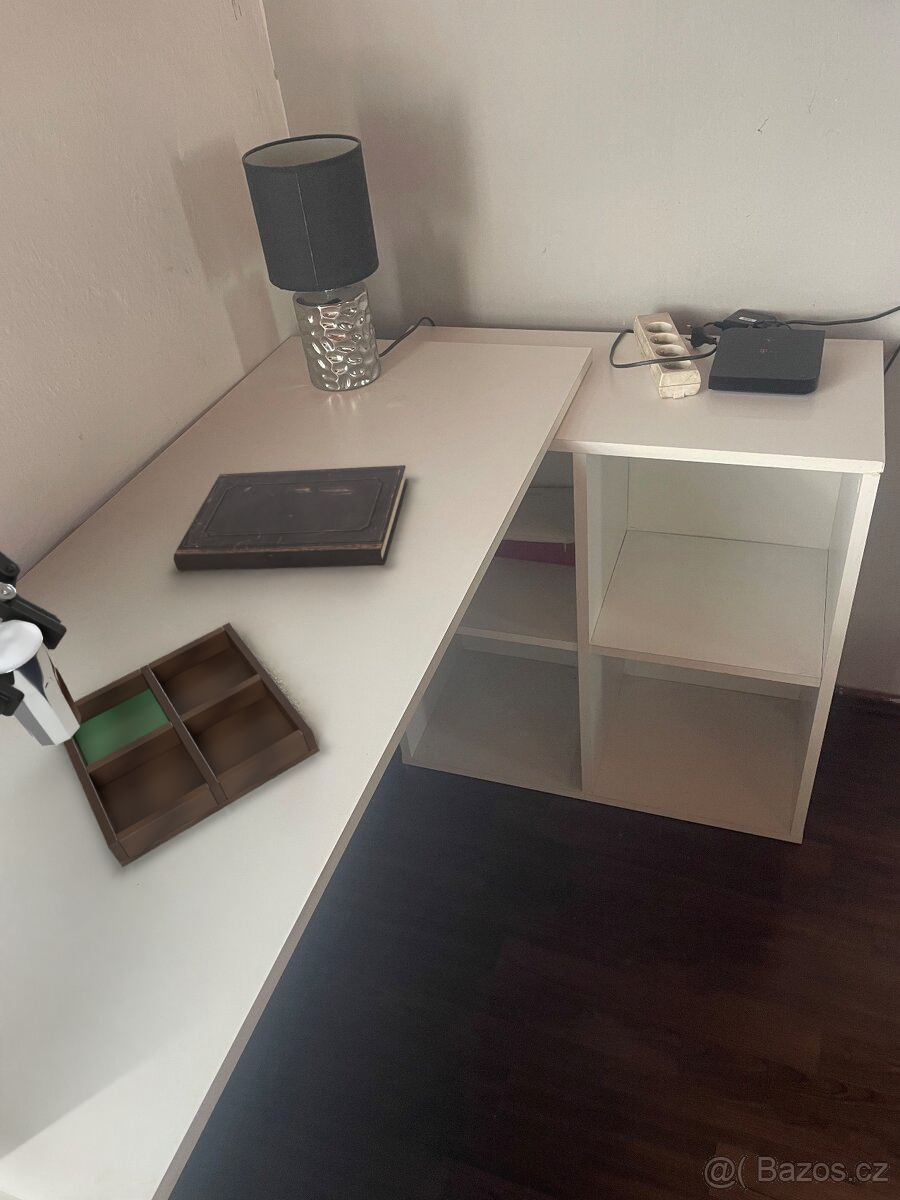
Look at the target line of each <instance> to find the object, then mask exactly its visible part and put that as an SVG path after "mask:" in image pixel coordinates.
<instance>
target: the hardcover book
mask: <svg viewBox="0 0 900 1200" xmlns="http://www.w3.org/2000/svg"><path fill="white" fill-rule="evenodd" d="M406 468H407V467H406V465H404V464H403V465H381V466H380V465H379V466H363V467H362V466H361V467H360V466H359V467H341V468H339V467H338V468H321V469H298V470H278V471H277V470H276V471H259V472H258V471H255V472H239V473H238V472H236V473H235V472H233V473H219V474H218V476H217V478H216V480H215V481H214V483H213V485H212V486H211V488H210V490H209V492H208V493H207V495H206V497H205V499H204V501H203V502H202V504H201V505H200V508H199V509H198V511H197V513H196V514H195V517H194V518H193V520H192V522H191V523H190V525H189V527H188V529H187V531H186V532H185V534H184V536H183V537H182V539H181V541H180V542H179V544H178V546H177V548H176V550H175V552H174V553H173V562H174V565H175V567H176V569H177V570H178V571H181V572H183V571H220V570H221V571H222V570H258V569H260V570H261V569H292V568H293V569H294V568H297V569H298V568H299V569H300V568H329V567H333V568H334V567H337V568H338V567H368V566H371V567H372V566H385V565H386V561H387V558H388V555H389V551H390V548H391V544H392V540H393V537H394V533H395V530H396V526H397V523H398V519H399V516H400V512H401V508H402V504H403V501H404V498H405V494H406V490H407V487H408V483H409V479H408V478H405V475H404V474H405V471H406Z"/></svg>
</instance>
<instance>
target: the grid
mask: <svg viewBox="0 0 900 1200" xmlns="http://www.w3.org/2000/svg"><path fill="white" fill-rule="evenodd" d="M74 702H75V704H76V706H77V708H78V711H79V713H80V715H81V725H80V728H79V729H78V731H77V732H76V733H75V734H74V735H73V736H72V738H71V739H69V740H67V741H65V742H63V743H62V745H63V746H64V749H65V750H66V753H67V755H68V757H69V760H70V762H71V765H72V767H73V769H74V771H75V774H76V776H77V778H78V781H79V784H80V785H81V788H82V790H83V792H84V795H85V797H86V800H87V802H88V804H89V806H90V809H91V811H92V813H93V815H94V818H95V819H96V823H97V825H98V827H99V829H100V832H101V834H102V836H103V839H104V841H105V844H106V845H107V848H108V849H109V851H110V852H111V854H112V855H113V856H114V858H115V860H116V861H117V862H118V863H119V865H120V866H121V868H124V867H127V866H128V865H129V864H131V863H134V862H135V861H136V860H137V859H140V858H142V857H143V856H145V855H146V854H148V853H150V852H151V851H154V850H155V849H157V848H158V847H160V846H162V845H163V844H166V843H167V842H168V841H170V840H172V839H173V838H175V837H176V836H178V835H181V834H182V833H184V832H185V831H187V830H188V829H191V828H192V827H194V826H195V825H197V824H199V823H200V822H202V821H204V820H205V819H208V818H209V817H211V816H212V815H214V814H216V813H217V812H220V811H221V810H222V809H224V808H226V807H227V806H229V805H231V804H232V803H234V802H236V801H238V800H239V799H242V798H243V797H244V796H246V795H248V794H250V793H252V792H253V791H254V790H255V791H256V789H258V788H260V787H261V786H264V784H267V783H268V782H270V781H272V780H273V779H275V778H276V777H278V776H280V775H282V774H284V773H285V772H286V771H288V770H290V769H292V768H293V767H295V766H297V765H298V764H300V763H302V762H304V761H306V760H307V759H309V758H310V757H312V756H313V755H315V754H317V753H319V752H320V748H319V745H318V743H317V740H316V737H315V734H314V732H313V729H312V728H311V727H310V725H309V723H308V722H306V720H305V718H304V717H303V716H302V715H301V713H300V712H299V711H298V709H297V708H296V707H295V705H294V704H293V703H292V701H290V699H289V698H288V696H287V695H286V694H285V692H283V690H282V688H281V687H280V686H279V685H278V684H277V681H275V679H274V678H273V677H272V676H271V674H270V673H269V671H268V670H267V669H266V668H265V667H264V665H263V664H262V662H261V661H260V660H259V658H258V657H257V656H256V655H255V654H254V652H253V651H252V649H251V648H250V647H249V645H248V644H247V643H246V642H245V640H244V639H243V638H242V636H241V635H240V634H239V632H238V631H237V630H236V629H235V627H234V626H233V624H232V623H231V622H230V621H229V622H227V623H225V624H223V625H222V626H220V627H217V628H215V629H214V630H212V631H210V632H208V633H205V634H203V635H202V636H200V637H198V638H195V639H194V640H192V641H190V642H188V643H186V644H184V645H181V646H180V647H179V648H176V649H175V650H173V651H170V652H168V653H166V654H165V655H163V656H161V657H159V658H157V659H154V660H153V661H151V662H149V663H147V664H145V665H143V666H141V667H140V668H137V669H135V670H134V671H131V672H129V673H128V674H126V675H124V676H122V677H119V678H118V679H116V680H114V681H112V682H110V683H108V684H105V685H104V686H102V687H100V688H97V689H96V690H94V691H92V692H91V693H89V694H86V695H85V696H83V697H81V698H79V699H77V700H75V701H74Z"/></svg>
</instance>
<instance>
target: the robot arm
mask: <svg viewBox="0 0 900 1200" xmlns="http://www.w3.org/2000/svg"><path fill="white" fill-rule="evenodd" d="M20 573H21V567H20V565H19V564H18V563H16V562H15V561H14V560H12V558H10V557H9V556H8V555H6V554H5V553H3V551H1V550H0V619H2V620H1V622H0V623H2V622H7V621H11V620H20V621H25V622H29V623H32V624H34V625H36V626H37V627H38V628H39V630H40V631H41V633H42V635H43V638H44V640H45V642H46V644H47V646H48V649H49V651H51V650H53V651H54V650H55V649H56V648H57V647H58V645H59V644H60V642H61V641H62V639H63V638H64V636H65V635H66V633H67V631H68V629H67V627H66V626H65V625H64V624H62V620H61V619H60V618H59V617H58V616H57V615H56V614H55V613H52V612H50V611H48V610H46V609H44V608H42V607H41V606H40V605H38V604H35V603H33V602H32V601H30V600H28V599H26V598H25V597H23V596H21V595H20V594H19V592H17V589H16V587H17V581H18V577H19V575H20ZM24 697H25V695H24V693H23V692H22V691H20V690H19V689H17V688H15V687H13V686H11V685H9V684H7V683H5V682H3V681H1V680H0V716H1V715H2V716H4V717H12V716H14V715H13V714H14V712H15V711H16V709H17V708H18V706H19V705H20V703H21V702H22V700H23V699H24Z"/></svg>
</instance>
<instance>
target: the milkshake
mask: <svg viewBox="0 0 900 1200" xmlns="http://www.w3.org/2000/svg"><path fill="white" fill-rule="evenodd" d="M1 622H2V621H1ZM1 622H0V680H1V681H3V682H5V683H7V684H9V685H11V686H13V687H15V688H17V689H19V690H20V691H22V692H23V693H24V695H25V697H24V699H23V700H22V702H21V703H20V705H19V706H18V708H17V709H16V711H15V712H14V714H13V715H12V716H14V718H15V719H16V720H17V721H18V722H19V723H20V724H21V726H22V727H23V728H24V729H25V730H26V731H27V733H28V734H29V735H30V736H31V737H32V738H33V739H34V740H35V741H36V742H37V743H38V744H39V745H40V746H42V747H53V746H54V747H56V746H59V745H61V744H63V742H65V741H67V740H69V739H71V738H72V736H73V735H74V734H75V733H76V732H77V731H78V729H79V728H80V725H81V715H80V713H79V711H78V708H77V706H76V704H75V701H74V697H72V694H71V692H70V690H69V688H68V686H67V684H66V682H65V680H64V678H63V676H62V674H61V672H60V670H59V668H58V666H57V664H56V662H55V660H54V658H53V655H52V654H51V650H50V649H48V646H47V644H46V642H45V640H44V638H43V635H42V633H41V631H40V630H39V628H38V627H37V626H36V625H34V624H32V623H29V622H25V621H20V620H11V621H7V622H2V623H1Z"/></svg>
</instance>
